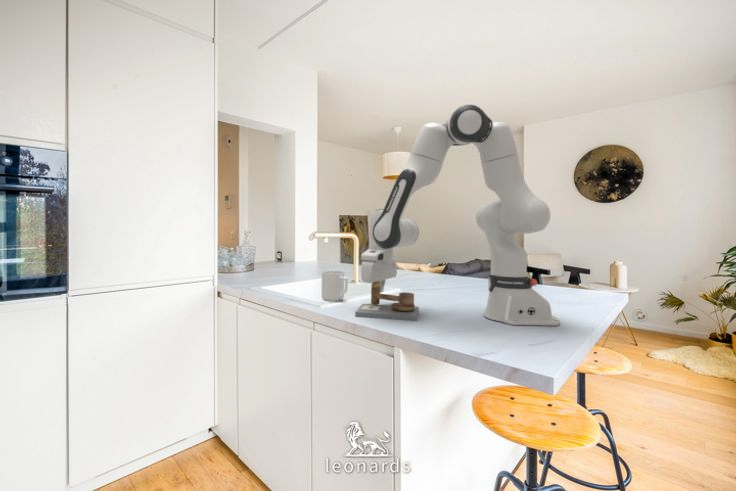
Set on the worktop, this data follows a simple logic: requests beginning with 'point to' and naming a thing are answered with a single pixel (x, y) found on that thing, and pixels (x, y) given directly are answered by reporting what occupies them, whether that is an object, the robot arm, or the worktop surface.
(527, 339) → the worktop surface
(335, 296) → the mug
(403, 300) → the brown wooden piece
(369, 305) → the stand
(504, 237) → the robot arm
